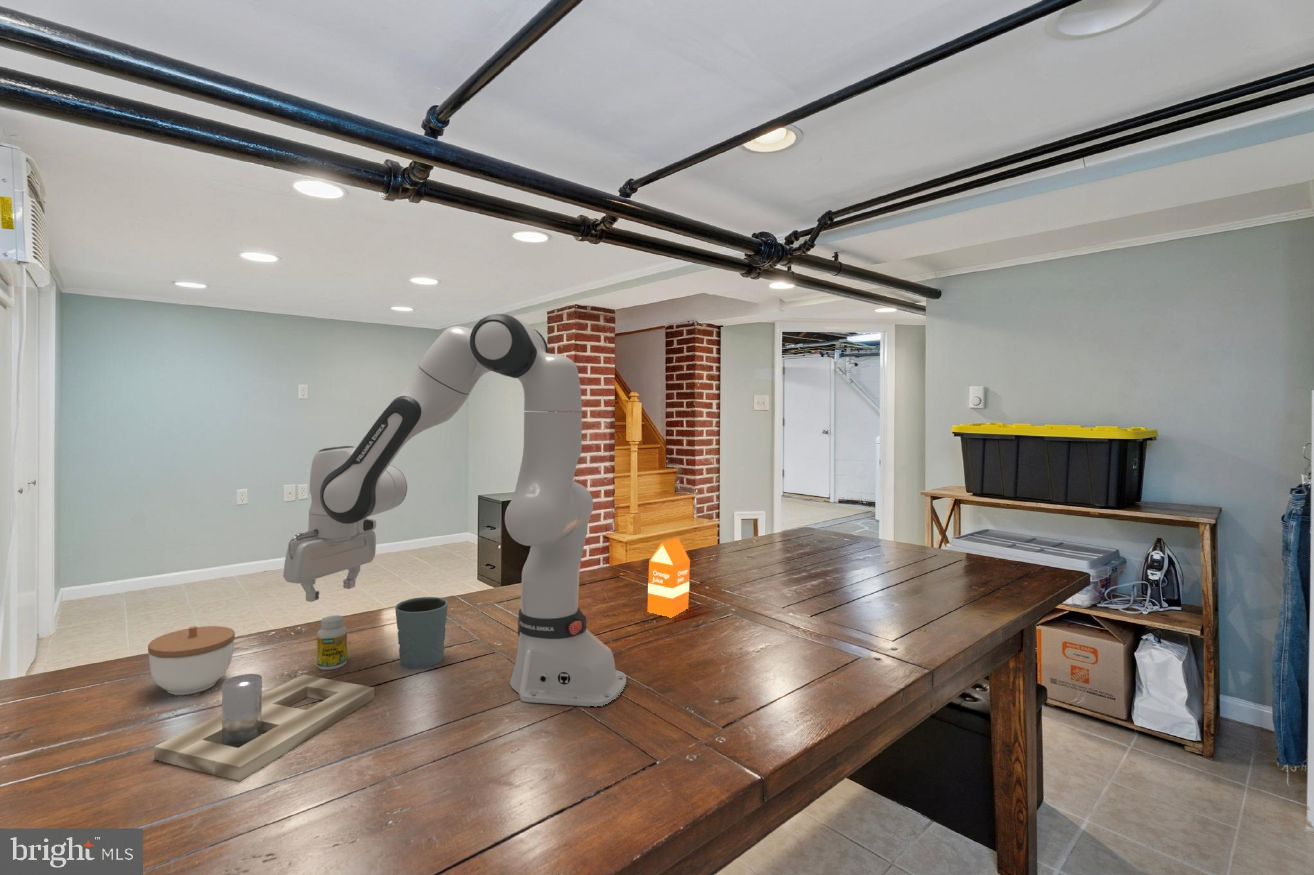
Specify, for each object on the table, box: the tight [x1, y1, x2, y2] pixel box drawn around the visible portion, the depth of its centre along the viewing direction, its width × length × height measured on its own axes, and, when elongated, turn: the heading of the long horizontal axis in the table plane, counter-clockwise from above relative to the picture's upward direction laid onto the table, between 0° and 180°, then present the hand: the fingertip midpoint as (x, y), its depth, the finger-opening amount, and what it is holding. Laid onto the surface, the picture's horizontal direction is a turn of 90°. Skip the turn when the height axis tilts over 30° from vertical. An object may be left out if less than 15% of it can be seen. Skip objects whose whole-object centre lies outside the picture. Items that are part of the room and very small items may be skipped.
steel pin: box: [221, 673, 263, 748], centre depth 92 cm, size 5×5×10 cm
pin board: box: [153, 674, 375, 782], centre depth 98 cm, size 16×26×2 cm, turn 165°
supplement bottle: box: [316, 614, 348, 671], centre depth 122 cm, size 5×5×10 cm
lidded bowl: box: [147, 625, 236, 696], centre depth 111 cm, size 13×13×11 cm
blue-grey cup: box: [394, 596, 449, 670], centre depth 126 cm, size 10×10×12 cm
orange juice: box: [647, 537, 691, 618], centre depth 161 cm, size 8×9×20 cm
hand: (331, 593), depth 122 cm, fingers open, 8 cm apart
